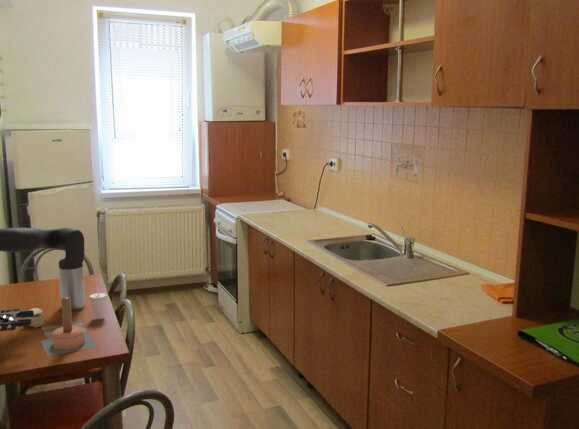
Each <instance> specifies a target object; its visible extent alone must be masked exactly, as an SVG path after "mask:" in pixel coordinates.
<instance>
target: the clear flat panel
mask: <svg viewBox="0 0 579 429" xmlns="http://www.w3.org/2000/svg"><path fill="white" fill-rule="evenodd" d="M72 326H80V327H82V328H83V331H84V333H86V332H88V330H87V328H86V327H85V326H84V324H83V322H82V321H81V319H78V320H72ZM61 327H63V322H61V323H53V324H48V325H42V326H40V329H41V330H42V333H43V335H44V336H45V340H48V339H52V332H53V331H54V330H56V329H58V328H61ZM88 333H89V332H88Z"/></svg>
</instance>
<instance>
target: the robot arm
mask: <svg viewBox="0 0 579 429" xmlns="http://www.w3.org/2000/svg"><path fill="white" fill-rule="evenodd" d="M40 249H55V250H56V249H57V250H60V251H61V250H62V251H64V252H65V256H64V258H61V259H59V261H58V272H59V273H58V274H59V286H60V299H61V298H62V297H70V298H71V311H74V310H75V311H76V310H78V309H79V310H81V309H82V308H85V306H86V296H85V295H86V294H85V278H84V277H85V276H84V264H83V263H84V260H85V236H84V234H83V232H82V231H81V230H80V229H76V228H72V227H71V228H70V227H61V228H60V227H59V228H51V229H41V228H35V227H8V228H7V227H4V228H0V252H4V253H5V252H7V253H29V252H35V251H38V250H40ZM60 306H61V307H62V305H60ZM33 316H34V312H33V310H30V309H28V310H21V309H20V308H13V309H5V310H4V309H3V310H0V332H7V331H14V330H16V329H17V328H19V327H25V326H26V327H30V326H29V325H31V319H30V318H29V319H26V317H33Z"/></svg>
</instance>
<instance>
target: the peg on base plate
mask: <svg viewBox="0 0 579 429" xmlns="http://www.w3.org/2000/svg"><path fill="white" fill-rule="evenodd" d="M60 304H61V305H62V306H61V305H60V306H61V318H62V323H63V327H61V328H58V329H56V330H54V331H53V332H52V338H51V339H52V345H53V347H54V349H61V350H68V349H73V348H78V347H79V346H81V345H82V344H84V343H85V335H84V333H85V332H84V331H83V328H82V327H80V326H72V321H73V317H72V316H73V315H72V310H71V298H70V297H62V298H61V297H60Z"/></svg>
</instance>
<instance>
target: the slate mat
mask: <svg viewBox="0 0 579 429" xmlns="http://www.w3.org/2000/svg"><path fill="white" fill-rule="evenodd" d="M84 335H85V343H84V344H82V345H81V346H79V347H78V348H73V349H68V350H61V349H54V347H53V345H52V338H51V339H43V340H40V342H41V345H42V347H43V349H44V352H45V355H46V357H53V356H57V355H61V354H68V353H72V352H73V353H74V352H77V351H82V350H89V349H93V348H97V347H98V346H97V344H96V342H95V341H94V340H93V338H92V336H91V334H90V333H89V332H84Z"/></svg>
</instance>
